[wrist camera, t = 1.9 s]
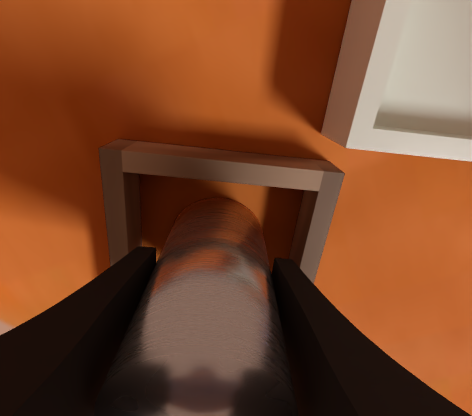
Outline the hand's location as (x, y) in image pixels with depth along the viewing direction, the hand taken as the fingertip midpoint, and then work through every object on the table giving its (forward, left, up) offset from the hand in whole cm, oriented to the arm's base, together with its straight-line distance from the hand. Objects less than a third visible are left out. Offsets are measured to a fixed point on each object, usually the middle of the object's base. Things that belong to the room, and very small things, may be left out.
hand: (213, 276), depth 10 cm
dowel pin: (0, 0, -2) cm, 2 cm away
